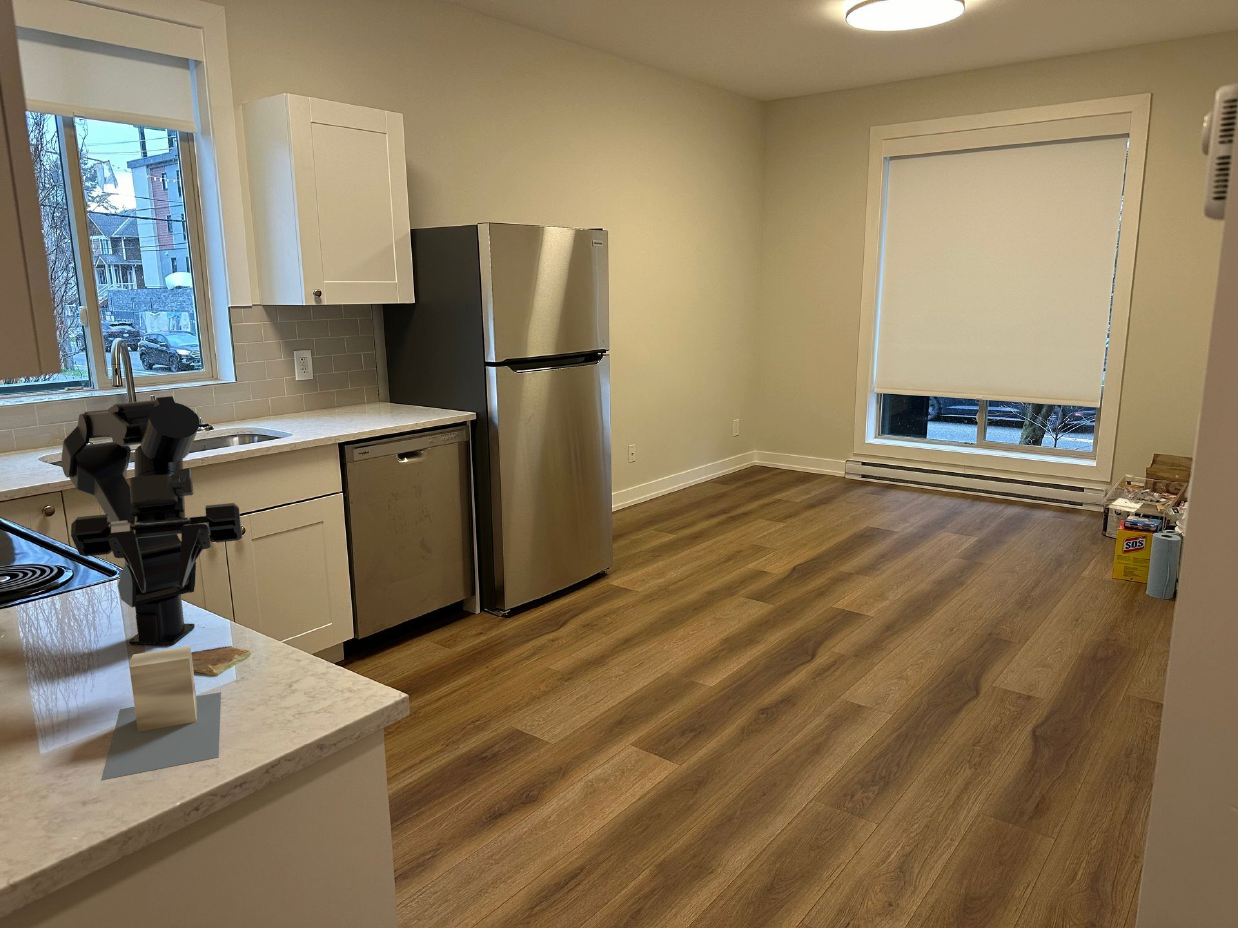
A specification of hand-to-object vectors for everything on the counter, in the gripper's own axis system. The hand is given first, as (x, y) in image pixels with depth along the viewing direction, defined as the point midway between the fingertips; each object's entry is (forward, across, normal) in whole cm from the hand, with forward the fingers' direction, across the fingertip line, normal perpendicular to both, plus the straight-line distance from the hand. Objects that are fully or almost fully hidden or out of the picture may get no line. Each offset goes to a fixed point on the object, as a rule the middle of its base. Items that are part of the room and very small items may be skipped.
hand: (162, 589), depth 105 cm
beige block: (+15, 0, +3) cm, 16 cm away
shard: (+6, +3, +14) cm, 16 cm away
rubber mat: (+18, 0, +1) cm, 18 cm away
